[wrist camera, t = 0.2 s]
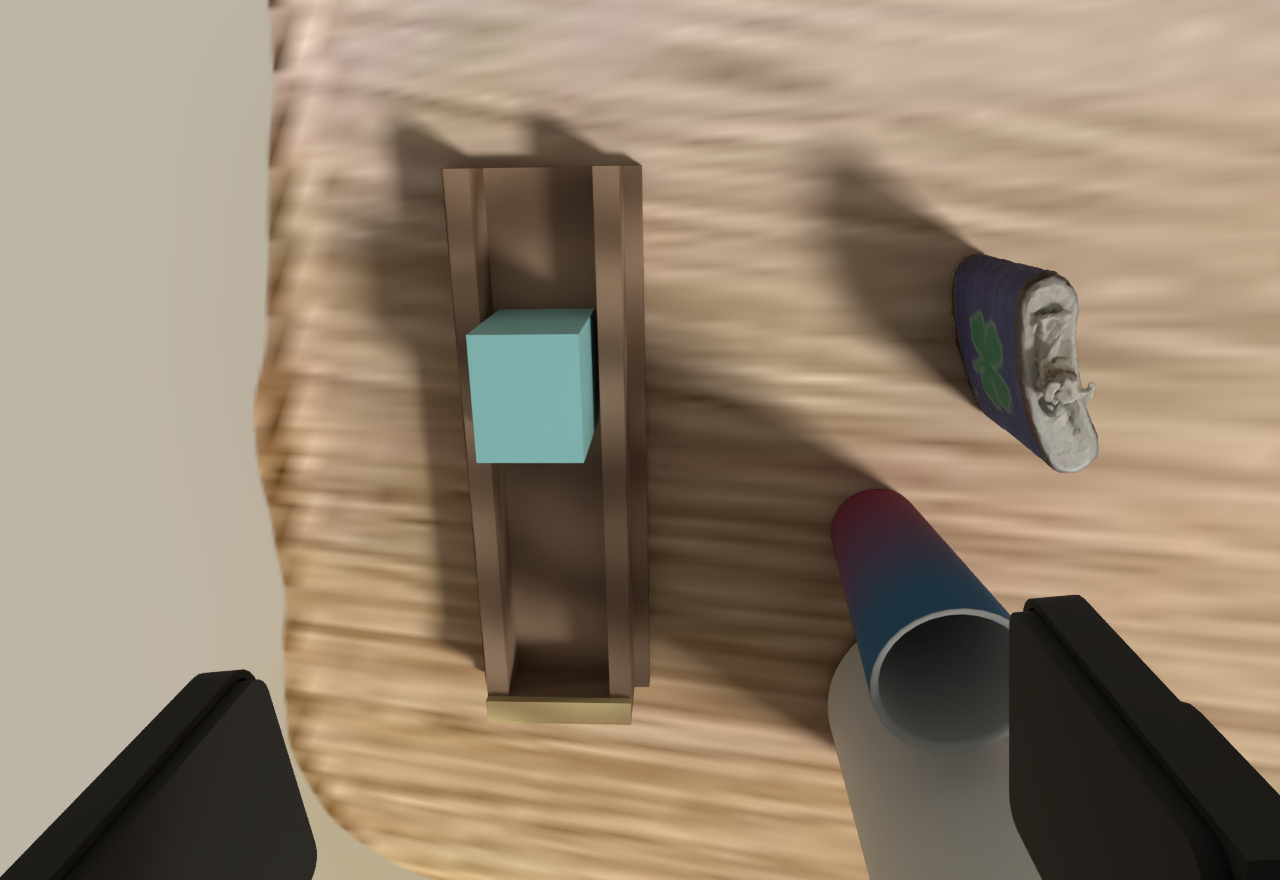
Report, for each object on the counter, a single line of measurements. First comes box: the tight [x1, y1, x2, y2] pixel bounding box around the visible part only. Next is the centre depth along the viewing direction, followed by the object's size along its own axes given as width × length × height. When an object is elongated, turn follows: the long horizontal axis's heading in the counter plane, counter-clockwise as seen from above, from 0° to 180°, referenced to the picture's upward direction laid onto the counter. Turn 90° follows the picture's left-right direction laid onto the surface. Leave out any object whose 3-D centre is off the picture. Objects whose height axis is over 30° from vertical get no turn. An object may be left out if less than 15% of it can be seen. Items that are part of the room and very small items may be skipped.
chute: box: [441, 165, 650, 725], centre depth 45 cm, size 30×10×4 cm, turn 1°
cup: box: [831, 489, 1011, 754], centre depth 41 cm, size 7×7×15 cm
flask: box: [950, 252, 1098, 473], centre depth 39 cm, size 9×3×11 cm, turn 17°
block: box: [466, 308, 599, 463], centre depth 41 cm, size 6×5×7 cm
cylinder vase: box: [828, 642, 1042, 880], centre depth 39 cm, size 12×12×25 cm
